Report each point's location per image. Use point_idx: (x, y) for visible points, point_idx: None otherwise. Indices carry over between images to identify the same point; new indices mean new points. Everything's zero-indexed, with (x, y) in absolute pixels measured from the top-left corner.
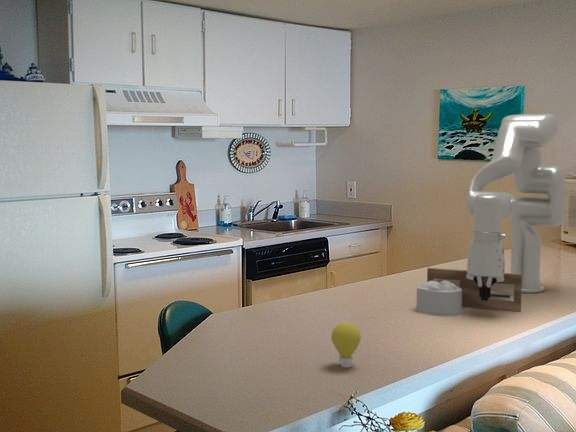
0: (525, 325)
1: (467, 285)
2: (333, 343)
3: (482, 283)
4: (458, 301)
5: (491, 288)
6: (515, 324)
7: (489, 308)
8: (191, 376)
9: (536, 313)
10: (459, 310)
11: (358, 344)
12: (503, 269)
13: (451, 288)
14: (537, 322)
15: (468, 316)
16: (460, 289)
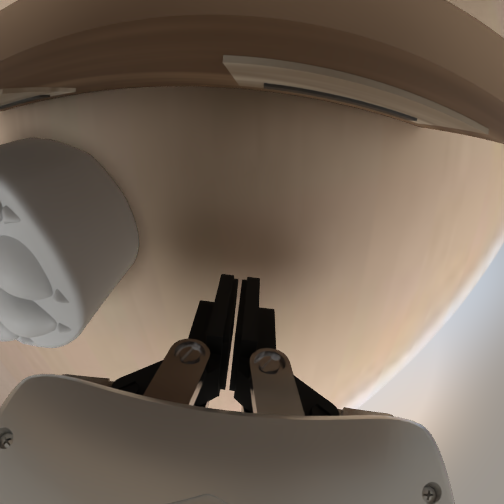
0: (389, 341)
1: (69, 76)
2: None
3: (206, 405)
4: (105, 299)
5: (282, 78)
6: (360, 340)
7: (266, 90)
8: None
9: (473, 153)
10: (127, 268)
11: None
12: (441, 459)
13: (42, 334)
14: (439, 295)
15: (176, 278)
16: (69, 299)
